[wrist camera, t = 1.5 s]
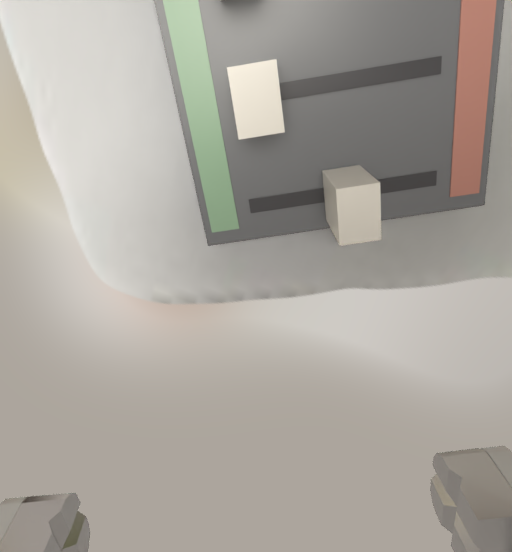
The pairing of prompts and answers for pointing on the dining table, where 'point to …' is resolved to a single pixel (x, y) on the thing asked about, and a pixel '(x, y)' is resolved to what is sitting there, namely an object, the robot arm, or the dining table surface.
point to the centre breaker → (256, 99)
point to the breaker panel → (335, 105)
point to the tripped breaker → (352, 204)
